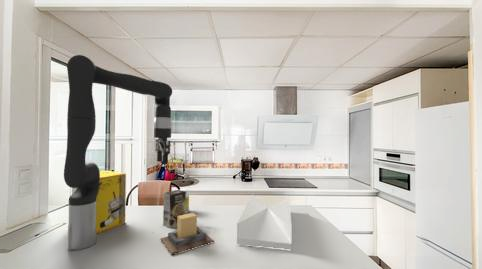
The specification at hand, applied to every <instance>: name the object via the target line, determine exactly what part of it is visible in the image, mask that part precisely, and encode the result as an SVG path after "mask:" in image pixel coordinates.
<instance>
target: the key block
mask: <svg viewBox="0 0 482 269" xmlns="http://www.w3.org/2000/svg"><path fill="white" fill-rule="evenodd" d="M197 219H198V215H197V214H195V213H194V212H191V213H190V212H189V213H185V215H180V216H177V226H176V231H177V239H182V238H186V237H189V236H193V235H197V227H198V224H197V223H198V220H197Z"/></svg>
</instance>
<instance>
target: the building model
mask: <svg viewBox="0 0 482 269" xmlns="http://www.w3.org/2000/svg"><path fill="white" fill-rule="evenodd" d="M290 200H291V199H290V197H287V198H285V199H283V200H281V201H279V202H277V203H275V204H273V205H268V204H264V203H263V202H262V201H260V199H259V198H257V197H256V196H255V195H254V194H252V195H251V196H250V198H249V200H248V202H247V204H246V206H245V207H244V209H243V211H242V212H241V213H242V214H241V215H240V217H239V219H238V221H237V223H236V245H237V244H239V245H251V246H263V247H273V248H284V249H291V250H292V238H293V236H292V235H293V234H292V232H293V229H292V228H293V227H292V215H291V214H292V213H291V212H292V211H291V201H290ZM239 245H238V246H239Z"/></svg>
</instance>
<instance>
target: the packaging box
mask: <svg viewBox="0 0 482 269" xmlns="http://www.w3.org/2000/svg"><path fill="white" fill-rule="evenodd" d="M99 171H100V170H99ZM126 182H127V173H125V172H118V171H112V170H101V171H100V182H99V192H98V195H97V198H96V235H97V234H100V233H103V232H105V231H107V230H108V231H109V230H110V229H113V228H116V227H119V226H122V225H123V224H126V204H127V203H126V200H127V199H126V196H127V195H126V190H127V186H126V185H127V183H126ZM76 189H77V188H71V195H72V194H73V193H74V192H75V191H76ZM102 231H103V232H102Z"/></svg>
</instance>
